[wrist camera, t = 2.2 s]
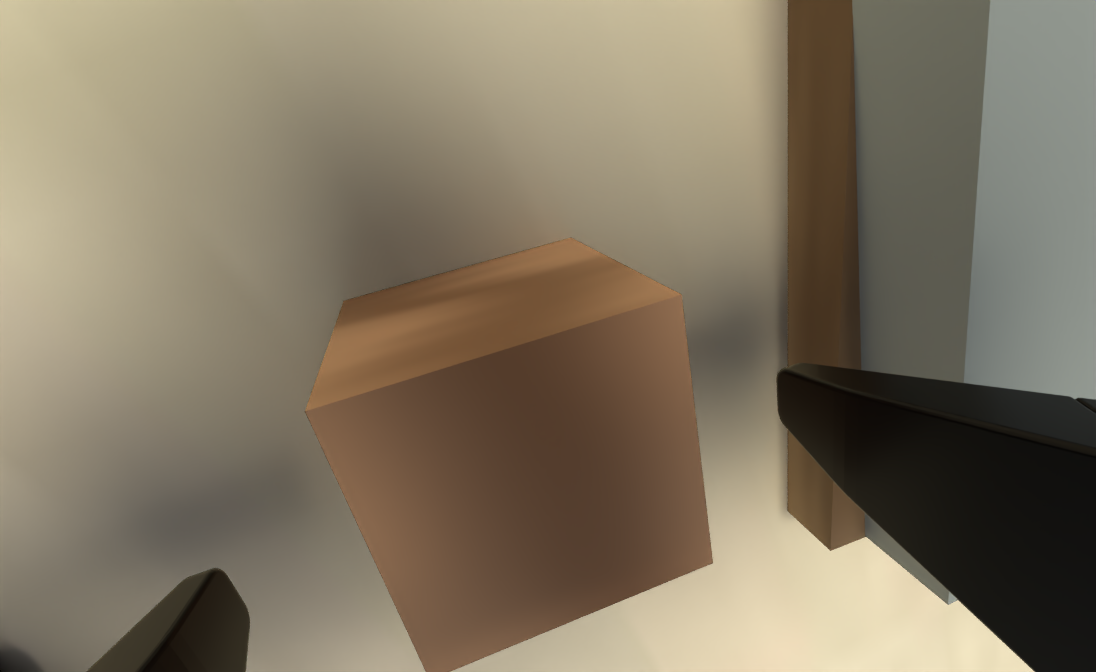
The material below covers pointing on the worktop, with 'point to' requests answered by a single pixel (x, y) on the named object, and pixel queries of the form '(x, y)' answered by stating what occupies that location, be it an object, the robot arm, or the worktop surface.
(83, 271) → the worktop surface
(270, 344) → the worktop surface
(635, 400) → the terracotta block
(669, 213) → the worktop surface
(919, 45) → the slate grey slab
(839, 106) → the walnut slab
